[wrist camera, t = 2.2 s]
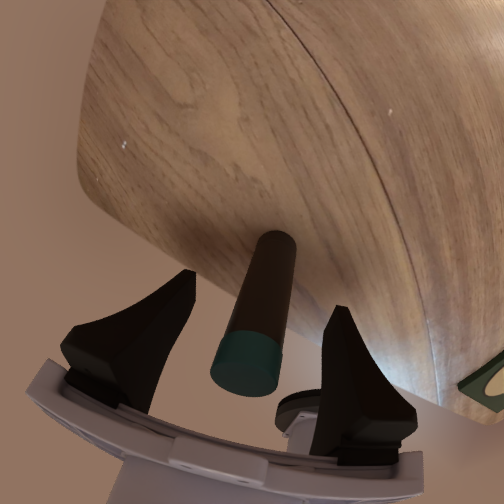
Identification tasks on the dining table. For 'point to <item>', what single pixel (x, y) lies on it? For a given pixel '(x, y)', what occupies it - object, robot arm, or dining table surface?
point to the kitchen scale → (487, 384)
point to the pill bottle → (258, 321)
